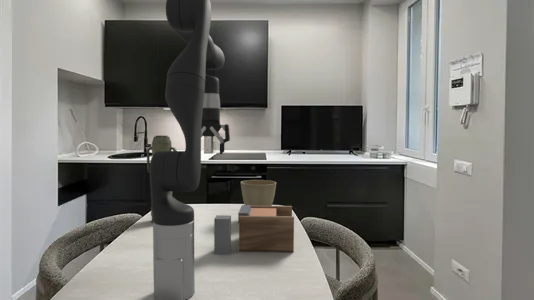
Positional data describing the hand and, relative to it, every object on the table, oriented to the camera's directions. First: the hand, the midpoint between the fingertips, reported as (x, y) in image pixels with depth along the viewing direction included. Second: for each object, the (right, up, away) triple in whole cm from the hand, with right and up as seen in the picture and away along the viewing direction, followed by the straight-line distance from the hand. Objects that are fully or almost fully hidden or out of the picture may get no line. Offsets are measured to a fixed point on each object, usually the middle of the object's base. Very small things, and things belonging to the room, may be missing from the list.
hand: (209, 153), depth 129 cm
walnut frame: (+20, -30, -6) cm, 36 cm away
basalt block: (+7, -30, -14) cm, 34 cm away
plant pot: (+17, -28, +25) cm, 41 cm away
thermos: (-22, -28, +22) cm, 42 cm away
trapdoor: (+17, -21, -6) cm, 28 cm away
